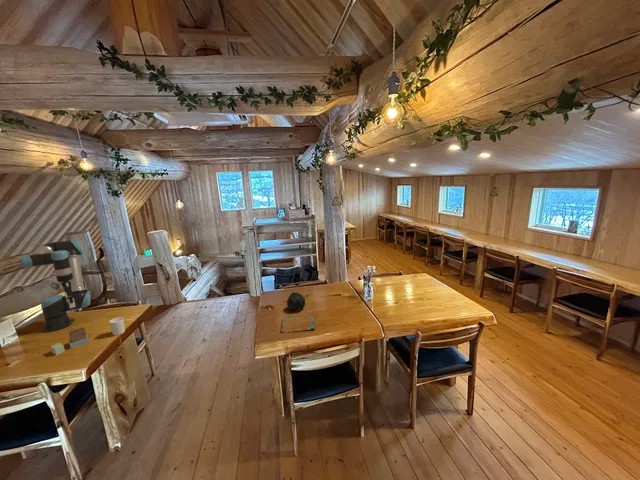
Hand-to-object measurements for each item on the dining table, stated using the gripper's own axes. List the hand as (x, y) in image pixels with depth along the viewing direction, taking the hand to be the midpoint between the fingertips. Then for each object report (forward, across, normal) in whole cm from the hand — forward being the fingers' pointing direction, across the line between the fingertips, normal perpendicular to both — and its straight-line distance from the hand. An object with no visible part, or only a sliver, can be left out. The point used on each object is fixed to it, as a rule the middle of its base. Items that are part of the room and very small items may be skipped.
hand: (71, 304), depth 171 cm
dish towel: (+22, +111, +102) cm, 152 cm away
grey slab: (+24, +11, -1) cm, 27 cm away
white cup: (+24, +16, +19) cm, 35 cm away
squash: (+22, +91, +121) cm, 153 cm away
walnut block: (+21, +11, -1) cm, 24 cm away
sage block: (+24, +13, -11) cm, 30 cm away
